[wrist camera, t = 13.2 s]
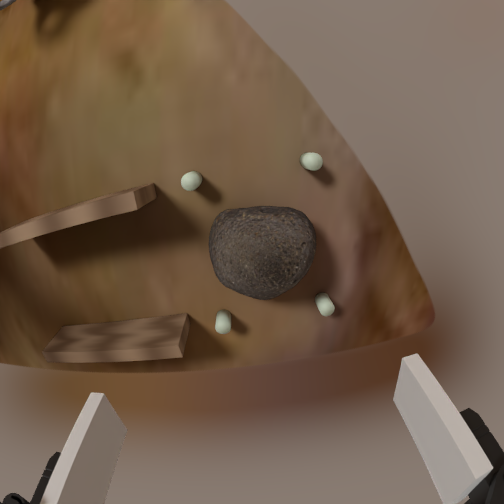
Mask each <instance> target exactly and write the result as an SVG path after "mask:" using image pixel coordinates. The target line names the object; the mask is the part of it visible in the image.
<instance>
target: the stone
mask: <svg viewBox="0 0 504 504" xmlns="http://www.w3.org/2000/svg"><path fill="white" fill-rule="evenodd" d="M315 251H316V233H315V230H314V227H313V225H312V223H311V222H310V220H309V219H308V218H307V216H306V215H305V214H304V213H303V212H301V211H298V210H296V209H293V208H289V207H274V206H257V207H250V208H238V209H227V210H225V211H223V212H221V213H220V214H219V215H218V216H217V217H216V219H215V221H214V223H213V225H212V227H211V231H210V236H209V252H210V258H211V261H212V264H213V268H214V271H215V274H216V276H217V277H218V279H219V281H220V282H221V283H222V284H223V285H224V286H225V287H227V288H230V289H232V290H234V291H236V292H238V293H240V294H243V295H246V296H249V297H252V298H256V299H260V300H268V299H272V298H275V297H277V296H279V295H281V294H282V293H284V292H286V291H287V290H289V289H291V288H293V287H294V286H295V285H296V284H297V283H298V282H299V281H300V280H301V279H302V278H303V277H304V276H305V275H306V273H307V272H308V270H309V268H310V266H311V264H312V262H313V259H314V255H315Z"/></svg>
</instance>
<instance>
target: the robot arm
mask: <svg viewBox="0 0 504 504" xmlns="http://www.w3.org/2000/svg"><path fill="white" fill-rule="evenodd" d="M393 400H394V402H395V404H396V406H397V408H398V410H399V412H400V414H401V416H402V418H403V420H404V422H405V424H406V426H407V428H408V430H409V431H410V434H411V436H412V438H413V440H414V442H415V444H416V446H417V448H418V450H419V452H420V454H421V456H422V458H423V460H424V463H425V465H426V467H427V469H428V471H429V473H430V475H431V477H432V480H433V482H434V484H435V487H436V489H437V491H438V493H439V496H440V498H441V500H442V502H443V504H456V503H458V502H460V501H462V500H463V499H464V498H465V497H466V496H467V495H468V496H469V498H470V499H469V500H468V501H467V502H466V503H465V504H504V452H503V451H502V449H501V447H500V446H499V444H498V442H497V441H496V439H495V438H494V436H493V435H492V434H491V432H489V429H488V427H487V426H486V425H485V423H484V422H483V420H482V419H481V417H480V416H479V415H478V414H477V413H476V412H474V411H473V410H471V409H470V408H468V409H466V410H464V411H462V412H460V413H459V412H458V410H457V409H456V407H455V406H454V405H453V403H452V402H451V400H450V398H449V397H448V396H447V394H446V393H445V391H444V390H443V389H442V387H441V386H440V384H439V383H438V381H437V380H436V378H435V377H434V376H433V374H432V373H431V372H430V370H429V369H428V367H427V366H426V365H425V363H424V362H423V361H422V359H421V358H420V356H419V355H418V354H414V355H411V356H407V357H404V358H402V362H401V367H400V372H399V377H398V381H397V386H396V390H395V394H394V398H393ZM126 433H127V428H126V427H125V426H124V424H123V423H122V421H121V420H120V418H119V417H118V415H117V413H116V412H115V410H114V409H113V407H112V406H111V404H110V402H109V401H108V399H107V397H106V396H105V394H104V393H91V394H90V396H89V398H88V400H87V401H86V403H85V405H84V407H83V409H82V411H81V413H80V415H79V417H78V419H77V421H76V423H75V425H74V428H73V429H72V431H71V434H70V436H69V438H68V440H67V442H66V444H65V446H64V448H63V451H62V453H59V452H56V453H55V454H54V455H53V456H52V457H51V458H50V459H49V461H48V463H47V466H46V470H44V473H43V474H42V475H43V477H41V479H40V482H39V484H38V486H37V488H36V491H35V494H34V495H33V498H32V500H31V502H30V503H29V502H27V500H25V499H24V498H23V497H21V496H20V495H19V494H16V493H10V494H9V495H7V496H6V497H5V498H4V500H3V503H1V502H0V504H104V503H105V500H106V496H107V492H108V489H109V486H110V483H111V479H112V476H113V473H114V470H115V466H116V463H117V460H118V457H119V454H120V451H121V447H122V444H123V441H124V439H125V435H126Z"/></svg>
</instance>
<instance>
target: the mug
mask: <svg viewBox="0 0 504 504" xmlns="http://www.w3.org/2000/svg"><path fill="white" fill-rule="evenodd" d="M15 1H16V0H2V1H1V2H0V10H2V9H4V8H6V7H7V6H9V5H11V4H12V3H13V2H15Z"/></svg>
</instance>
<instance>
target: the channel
mask: <svg viewBox="0 0 504 504" xmlns="http://www.w3.org/2000/svg"><path fill="white" fill-rule="evenodd" d="M156 198H157V196H156V192H155V187H154V183H151V184H147V185H143V186H139V187H135V188H131V189H127V190H123V191H120V192H116V193H112V194H109V195H105V196H101V197H98V198H94V199H91V200H88V201H84V202H81V203H78V204H74V205H71V206H68V207H65V208H62V209H59V210H56V211H53V212H50V213H47V214H44V215H41V216H38V217H35V218H32V219H29V220H27V221H24V222H22V223H20V224H17V225H15V226H13V227H11V228H9V229H7V230H5V231H2V232H0V248H2V247H5V246H8V245H11V244H15V243H18V242H21V241H24V240H27V239H30V238H34V237H37V236H40V235H44V234H47V233H50V232H54V231H57V230H61V229H64V228H68V227H71V226H75V225H79V224H82V223H86V222H90V221H94V220H98V219H102V218H106V217H110V216H114V215H118V214H122V213H126V212H130V211H134V210H138V209H140V208H141V207H143V206H144V205H146V204H147V203H149V202H151V201H152V200H154V199H156ZM189 328H190V321H189V318H188V315H187V313H184V314H177V315H169V316H161V317H153V318H144V319H135V320H126V321H116V322H106V323H96V324H84V325H72V326H62V328H61V329H60V330H59V331H58V333H57V334H56V335H55V336H54V337H53V339H52V340H51V341H50V342H49V344H48V345H47V346H46V348H45V349H44V350H43V351H42V353H43V355H44V357H45V359H46V360H47V362H66V363H87V362H123V361H142V360H157V359H169V358H180V357H183V354H184V349H185V345H186V341H187V337H188V332H189Z"/></svg>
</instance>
